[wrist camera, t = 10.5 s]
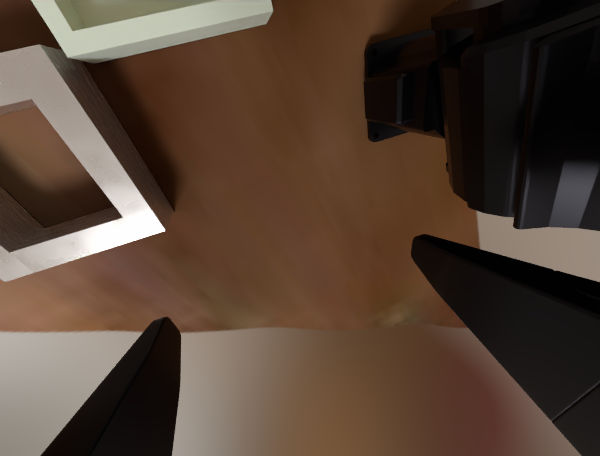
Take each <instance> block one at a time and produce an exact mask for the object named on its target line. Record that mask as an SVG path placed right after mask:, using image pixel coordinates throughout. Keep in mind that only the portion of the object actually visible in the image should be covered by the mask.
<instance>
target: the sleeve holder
mask: <svg viewBox="0 0 600 456" xmlns="http://www.w3.org/2000/svg"><path fill="white" fill-rule="evenodd" d="M36 106H37V107H38V108H39V109H40V111H41V112H42V113H43V114H44V116H45V117H46V118H47V120H48V121H49V122H50V123H51V125H52V126H53V127H54V129H55V130H56V131H57V132H58V134H59V135H60V136H61V138H62V139H63V140H64V142H65V143H66V144H67V145H68V147H69V148H70V149H71V151H72V152H73V153H74V154H75V156H76V157H77V158H78V160H79V161H80V162H81V163H82V165H83V166H84V167H85V169H86V170H87V171H88V173H89V174H90V175H91V176H92V178H93V179H94V180H95V182H96V183H97V184H98V185H99V187H100V188H101V189H102V191H103V192H104V193H105V194H106V196H107V197H108V198H109V200H110V201H111V202H112V204H113V205H114V206H115V207H112V208H108V209H105V210H102V211H98V212H95V213H92V214H88V215H85V216H82V217H78V218H75V219H72V220H68V221H65V222H62V223H58V224H55V225H52V226H48V227H45V228H44V227H43V226H41V225H40V224H39V223H38V222H37V221H36V220H35V219H34V218H33V217H32V216H31V215H30V214H29V213H28V212H27V211H26V210H25V209H24V208H23V207H22V206H21V205H20V204H19V203H18V202H17V201H16V200H14V199H13V198H12V197H11V196H10V195H9V194H8V193H7V192H6V191H5V190H4V189H3V188H2V187H1V186H0V279H2V280H3V281H4V282H7V281H10V280H13V279H16V278H19V277H22V276H25V275H28V274H32V273H35V272H38V271H41V270H44V269H47V268H50V267H53V266H57V265H60V264H63V263H66V262H69V261H72V260H75V259H78V258H82V257H85V256H88V255H91V254H94V253H97V252H100V251H103V250H107V249H110V248H113V247H116V246H119V245H122V244H125V243H128V242H131V241H135V240H138V239H141V238H144V237H147V236H150V235H153V234H156V233H160V232H163V231H165V230H166V228H167V226H168V224H169V222H170V220H171V218H172V216H173V213H174V210H173V208H172V207H171V205H170V203H169V202H168V200H167V199H166V197H165V195H164V194H163V192H162V190H161V189H160V187H159V186H158V184H157V182H156V181H155V179H154V177H153V176H152V174H151V172H150V171H149V169H148V168H147V166H146V164H145V163H144V161H143V159H142V158H141V156H140V155H139V153H138V151H137V150H136V148H135V146H134V145H133V143H132V142H131V140H130V138H129V137H128V135H127V133H126V132H125V130H124V128H123V127H122V125H121V124H120V122H119V120H118V119H117V117H116V115H115V114H114V112H113V111H112V109H111V107H110V106H109V104H108V102H107V101H106V99H105V97H104V96H103V94H102V93H101V91H100V89H99V88H98V86H97V84H96V83H95V81H94V80H93V78H92V76H91V75H90V73H89V71H88V70H87V68H86V66H85V65H84V63H83V62H82V61H81V60H76V59H72V58H68V57H67V56H66V54H65V52H64V51H62V50H59V49H55V48H51V47H47V46H44V45H40V44H39V45H34V46H29V47H25V48H20V49H16V50H11V51H6V52H2V53H0V115H3V114H7V113H12V112H16V111H20V110H24V109H28V108H32V107H36Z"/></svg>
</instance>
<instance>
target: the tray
mask: <svg viewBox="0 0 600 456" xmlns="http://www.w3.org/2000/svg"><path fill="white" fill-rule="evenodd" d="M31 1H32V2H33V4H34V5H35V7H36V9H37V10H38V12H39V13H40V15H41V16H42V18H43V19H44V21H45V23H46V24H47V26H48V27H49V29H50V30H51V32H52V34H53V35H54V37H55V38H56V40H57V41H58V43H59V45H60V46H61V48H62V49H63V51H64V52H65V54H66V56H67V57H68V58H72V59H76V60H81V61H85V62H89V63H93V64H96V63H100V62H104V61H109V60H113V59H117V58H122V57H126V56H130V55H135V54H139V53H143V52H148V51H152V50H156V49H161V48H165V47H169V46H174V45H178V44H182V43H186V42H191V41H195V40H199V39H204V38H208V37H212V36H217V35H221V34H225V33H230V32H234V31H238V30H243V29H247V28H251V27H256V26H260V25H264V24H267V22H268V20H269V18H270V16H271V14H272V12H273V8H272V3H271V0H31Z"/></svg>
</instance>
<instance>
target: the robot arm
mask: <svg viewBox="0 0 600 456" xmlns="http://www.w3.org/2000/svg"><path fill="white" fill-rule="evenodd" d="M431 23H432V28H431V29H427V30H424V31H420V32H416V33H412V34H408V35H404V36H400V37H396V38H392V39H388V40H384V41H380V42H377V43H373V44H370V45H368V46H367V48H366V50H365V54H364V57H365V82H364V97H365V117H366V119H367V125H368V139H369V140H370V141H372V142H378V141H381V140H384V139H387V138H391V137H394V136H397V135H400V134H404V133H407V132H413V133H418V134H423V135H428V136H433V137H438V138H443V139H445V142H446V153H447V163H446V170H447V172H448V173H449V182H450V185H451V187H452V190H453V192H454V193H455V194H457V195H458V196H459V197H460V198H462V199H463V200H464V201H466V202H467V205H468V207H469V208H471V209H474V210H477V211H480V212H483V213H486V214H492V215H497V216H503V217H514V223H513V227H514V228H516V229H530V228H542V227H563V228H565V227H566V228H581V229H589V230H596V231H600V0H457V1H455V2H454V3H452V4H451V5H449V6H448V7H446V8H444V9H443V10H441V11H440V12H438V13H437V14H435V15H433V16H432V17H431ZM372 49H373V50H374V56H373V57H372V56H371V50H372ZM374 133H376V137H375V138H373V135H374ZM411 257H412V259H413V261H414V262H415V263H416V265H417V266H418V267H419V269H420V270H421V272H422V273H423V274H424V276H425V277H426V278H427V280H428V281H429V283H430V284H431V285H432V287H433V288H434V289H435V291H436V292H437V293H438V294H439V295H440V297H441V298H442V299H443V300H444V301H445V302H446V303H447V305H448V306H449V307H450V308H451V309H452V310H453V311H454V312H455V314H456V315H457V316H458V317H459V318H460V319H461V320H462V321H463V323H464V324H465V325H466V326H467V327H468V328H469V329H470V330H471V331H472V333H473V334H474V335H475V336H476V337H477V338H478V339H479V341H480V342H481V343H482V344H483V345H484V346H485V347H486V348H487V350H488V351H489V352H490V353H491V354H492V355H493V356H494V357H495V358H496V360H497V361H498V362H499V363H500V364H501V365H502V366H503V367H504V368H505V370H506V371H507V372H508V373H509V374H510V375H511V377H512V378H514V380H515V381H516V382H517V383H518V384H519V386H521V388H522V389H523V390H524V391H525V392H526V393H527V395H529V397H530V398H531V399H532V400H533V401H534V402H535V403H536V405H537V406H538V407H539V408H540V409H541V410H542V411H543V413H544V414H545V415H546V416H547V417H548V418H549V419H550V420H551V421H552V423H553V424H554V425H555V426H556V427H557V429H559V431H560V432H561V433H562V434H563V435H564V436H565V438H566V439H567V440H568V441H569V442H570V443H571V444H572V445H573V447H574V448H575V449H576V450H577V451H578V452H579V453H580V454H581V456H600V282H597V281H593V280H589V279H586V278H582V277H578V276H574V275H571V274H567V273H564V272H560V271H554V270H552V269H549V268H546V267H542V266H538V265H535V264H531V263H527V262H524V261H520V260H517V259H513V258H510V257H506V256H502V255H499V254H495V253H492V252H488V251H484V250H481V249H477V248H474V247H470V246H466V245H463V244H459V243H456V242H452V241H448V240H445V239H441V238H438V237H434V236H430V235H427V234H422V235H419V236H416V237H414V238H413V242H412V249H411ZM180 373H181V334H180V331H179V330H178V328H177V327H176V326H175V325H174V323H173V322H172V321H171V320H170V318H168V317H163V318H160V319H157V320H154V321H153V322H152V323H151V324H150V325H149V326H148V327H147V328H146V330H145V331H144V332H143V333H142V334H141V336H140V337H139V338H138V340H136V342H135V343H134V344H133V345H132V347H131V348H130V349H129V350H128V351H127V353H126V354H125V355H124V356H123V357H122V359H121V360H120V361H119V362H118V363H117V364H116V366H115V367H114V368H113V369H112V370H111V372H110V373H109V374H108V375H107V376H106V378H105V379H104V380H103V381H102V383H101V384H100V385H99V386H98V387H97V389H96V390H95V391H94V392H93V393H92V394H91V396H90V397H89V398H88V399H87V400H86V402H85V403H84V404H83V405H82V407H81V408H80V409H79V410H78V411H77V413H76V414H75V415H74V416H73V418H72V419H71V420H70V421H69V422H68V423H67V425H66V426H65V427H64V428H63V429H62V431H61V432H60V433H59V434H58V435H57V437H56V438H55V439H54V440H53V441H52V443H51V444H50V445H49V446H48V447H47V448H46V450H45V451H44V452H43V453H42V455H41V456H172V450H173V441H174V433H175V425H176V416H177V408H178V401H179V391H180Z"/></svg>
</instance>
